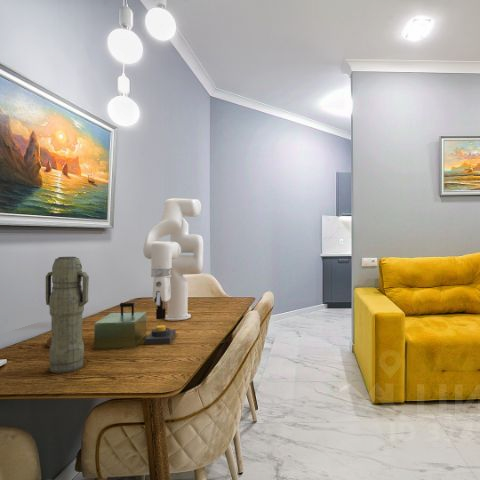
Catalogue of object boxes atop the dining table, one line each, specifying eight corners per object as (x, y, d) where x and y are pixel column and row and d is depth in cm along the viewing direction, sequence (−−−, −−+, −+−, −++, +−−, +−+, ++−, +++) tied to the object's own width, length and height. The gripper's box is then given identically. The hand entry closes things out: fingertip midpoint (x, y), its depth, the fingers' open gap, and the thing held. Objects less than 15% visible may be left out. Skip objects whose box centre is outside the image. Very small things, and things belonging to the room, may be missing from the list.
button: (157, 329, 142) (157, 325, 142) (166, 329, 143) (166, 325, 143) (155, 332, 139) (155, 327, 139) (164, 331, 140) (164, 327, 140)
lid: (111, 314, 144) (111, 301, 144) (146, 313, 147) (146, 301, 147) (94, 325, 128) (94, 310, 128) (134, 323, 131) (135, 309, 131)
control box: (152, 335, 146) (152, 326, 146) (175, 334, 148) (175, 325, 148) (144, 344, 134) (144, 334, 134) (169, 343, 136) (169, 333, 136)
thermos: (82, 371, 108) (82, 258, 107) (37, 374, 105) (38, 258, 105) (93, 361, 117) (94, 256, 116) (53, 363, 114) (53, 256, 113)
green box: (110, 336, 143) (110, 315, 143) (146, 335, 146) (146, 314, 146) (94, 349, 128) (94, 325, 128) (134, 347, 131) (134, 324, 131)
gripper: (167, 274, 134) (166, 322, 134) (175, 271, 149) (174, 314, 149) (146, 275, 132) (145, 323, 132) (155, 271, 147) (155, 314, 147)
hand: (160, 318), depth 140 cm, fingers closed
